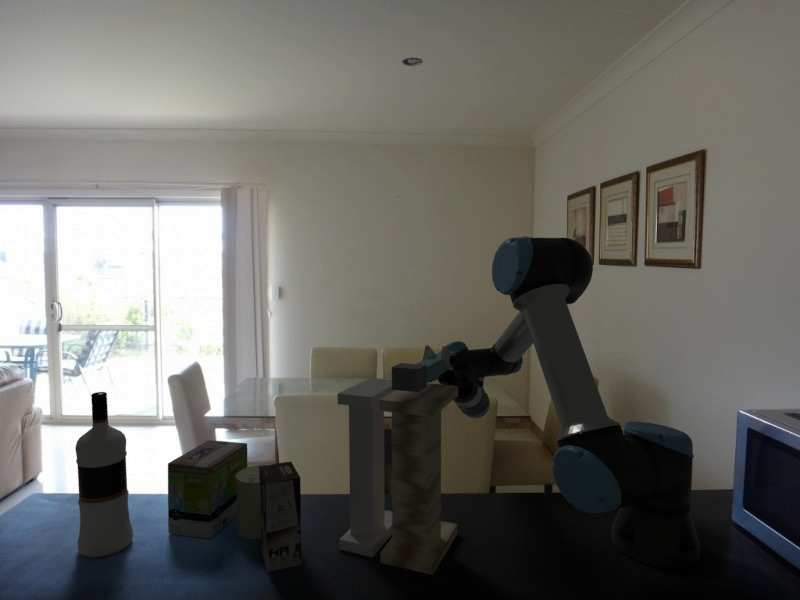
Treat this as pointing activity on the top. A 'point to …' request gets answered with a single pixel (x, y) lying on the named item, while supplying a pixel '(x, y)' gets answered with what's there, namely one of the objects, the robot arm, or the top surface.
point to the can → (248, 503)
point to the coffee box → (280, 515)
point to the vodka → (102, 486)
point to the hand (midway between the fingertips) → (434, 352)
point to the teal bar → (417, 373)
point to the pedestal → (417, 479)
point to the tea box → (204, 488)
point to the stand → (366, 468)
